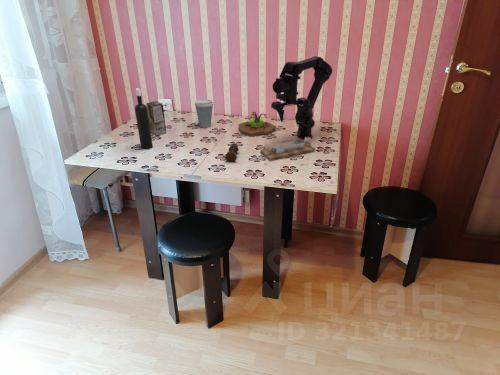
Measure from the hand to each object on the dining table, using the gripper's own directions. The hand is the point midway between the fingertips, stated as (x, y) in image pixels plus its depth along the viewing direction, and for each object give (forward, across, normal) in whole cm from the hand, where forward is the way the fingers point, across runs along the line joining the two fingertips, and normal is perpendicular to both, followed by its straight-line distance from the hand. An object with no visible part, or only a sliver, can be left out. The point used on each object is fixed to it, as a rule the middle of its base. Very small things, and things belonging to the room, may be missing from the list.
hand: (289, 120), depth 188 cm
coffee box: (+12, +58, -45) cm, 74 cm away
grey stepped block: (+10, +6, +10) cm, 16 cm away
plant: (+13, +7, -24) cm, 28 cm away
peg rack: (+12, +6, +10) cm, 17 cm away
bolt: (+12, +32, +2) cm, 35 cm away
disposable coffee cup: (+12, +31, -43) cm, 54 cm away
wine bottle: (+12, +68, -26) cm, 74 cm away
